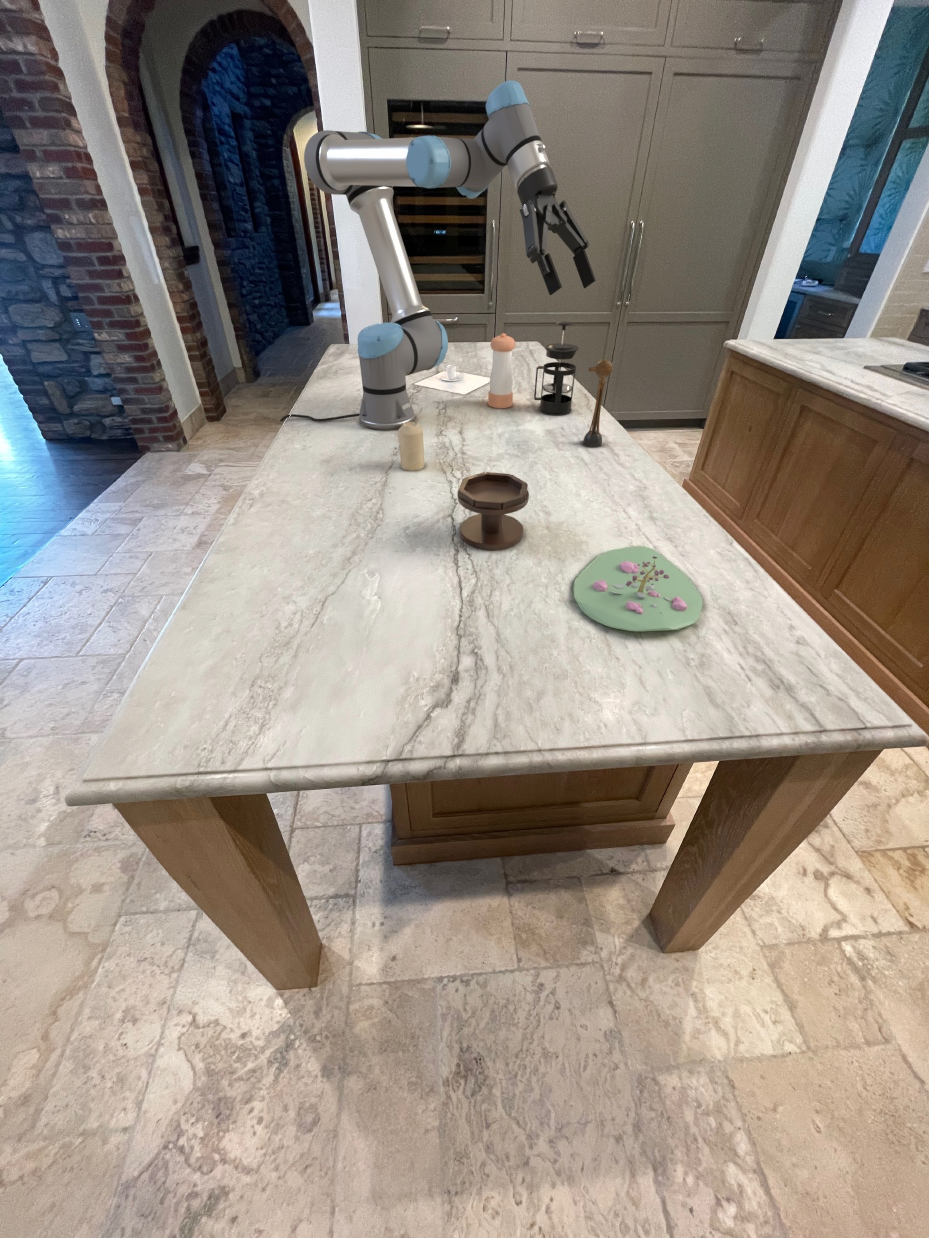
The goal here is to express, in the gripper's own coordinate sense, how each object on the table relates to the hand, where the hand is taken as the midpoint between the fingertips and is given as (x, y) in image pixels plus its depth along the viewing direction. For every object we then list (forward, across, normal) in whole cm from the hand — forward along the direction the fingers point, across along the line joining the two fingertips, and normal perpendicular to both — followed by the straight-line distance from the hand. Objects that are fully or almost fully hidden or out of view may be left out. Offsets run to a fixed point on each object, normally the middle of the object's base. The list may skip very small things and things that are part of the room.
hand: (573, 288), depth 111 cm
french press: (+19, +26, +34) cm, 47 cm away
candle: (+18, -29, +37) cm, 50 cm away
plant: (+53, -40, -14) cm, 68 cm away
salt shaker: (+11, +20, +46) cm, 51 cm away
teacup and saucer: (-4, +29, +67) cm, 73 cm away
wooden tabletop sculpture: (+31, +10, +16) cm, 37 cm away
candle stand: (+36, -41, +10) cm, 56 cm away
